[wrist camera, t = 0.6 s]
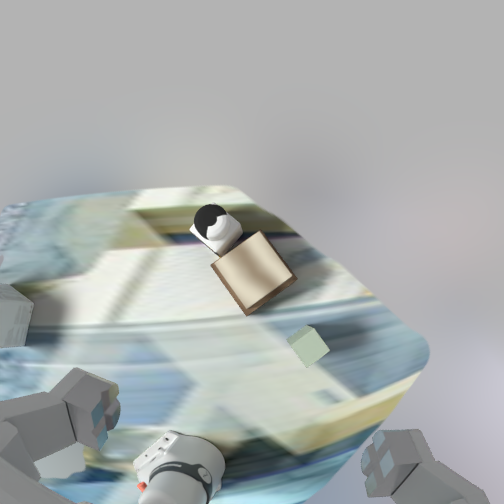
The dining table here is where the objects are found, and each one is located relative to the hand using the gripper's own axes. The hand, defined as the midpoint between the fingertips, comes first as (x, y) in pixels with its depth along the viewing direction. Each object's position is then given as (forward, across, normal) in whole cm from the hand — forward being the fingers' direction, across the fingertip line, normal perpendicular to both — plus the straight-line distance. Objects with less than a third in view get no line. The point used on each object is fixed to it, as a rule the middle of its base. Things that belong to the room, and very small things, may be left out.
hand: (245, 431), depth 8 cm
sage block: (+48, +11, -22) cm, 54 cm away
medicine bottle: (+56, -10, -6) cm, 58 cm away
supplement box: (+46, -63, -36) cm, 86 cm away
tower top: (+50, -2, -10) cm, 51 cm away
